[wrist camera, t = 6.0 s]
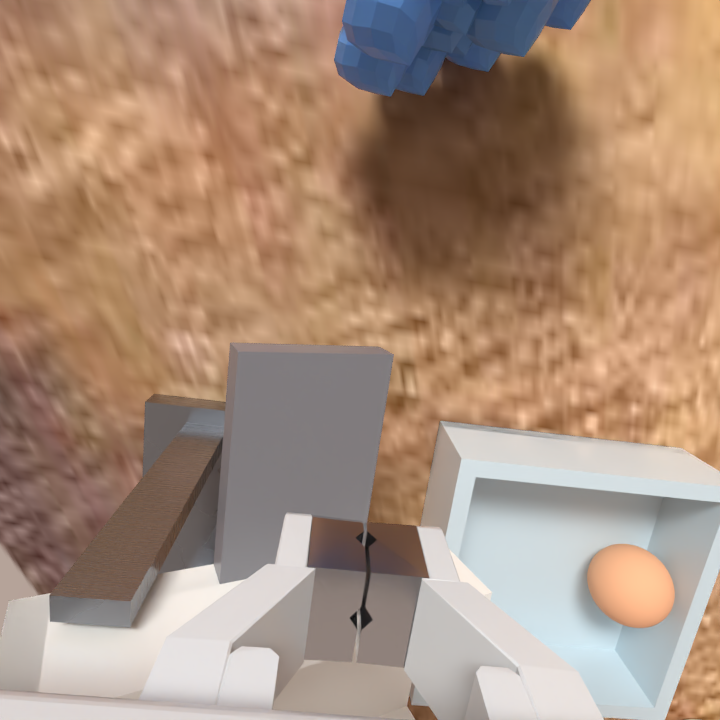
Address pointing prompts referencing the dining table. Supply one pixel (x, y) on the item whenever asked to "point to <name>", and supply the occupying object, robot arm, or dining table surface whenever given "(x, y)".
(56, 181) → the dining table surface
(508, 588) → the pale blue tray
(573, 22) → the grapes
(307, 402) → the tipping trough
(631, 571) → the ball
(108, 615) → the trough stand
